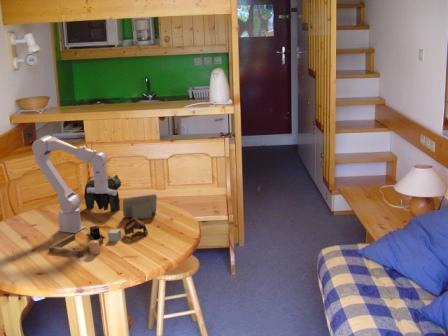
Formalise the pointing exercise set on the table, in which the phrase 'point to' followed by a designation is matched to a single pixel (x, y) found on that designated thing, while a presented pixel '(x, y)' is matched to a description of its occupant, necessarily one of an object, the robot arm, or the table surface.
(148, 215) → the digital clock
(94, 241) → the pinkish-brown rounded block
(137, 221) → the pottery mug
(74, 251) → the bay
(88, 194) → the power drill
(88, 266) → the table surface
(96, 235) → the black boxy piece
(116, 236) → the light gray block
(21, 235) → the table surface
